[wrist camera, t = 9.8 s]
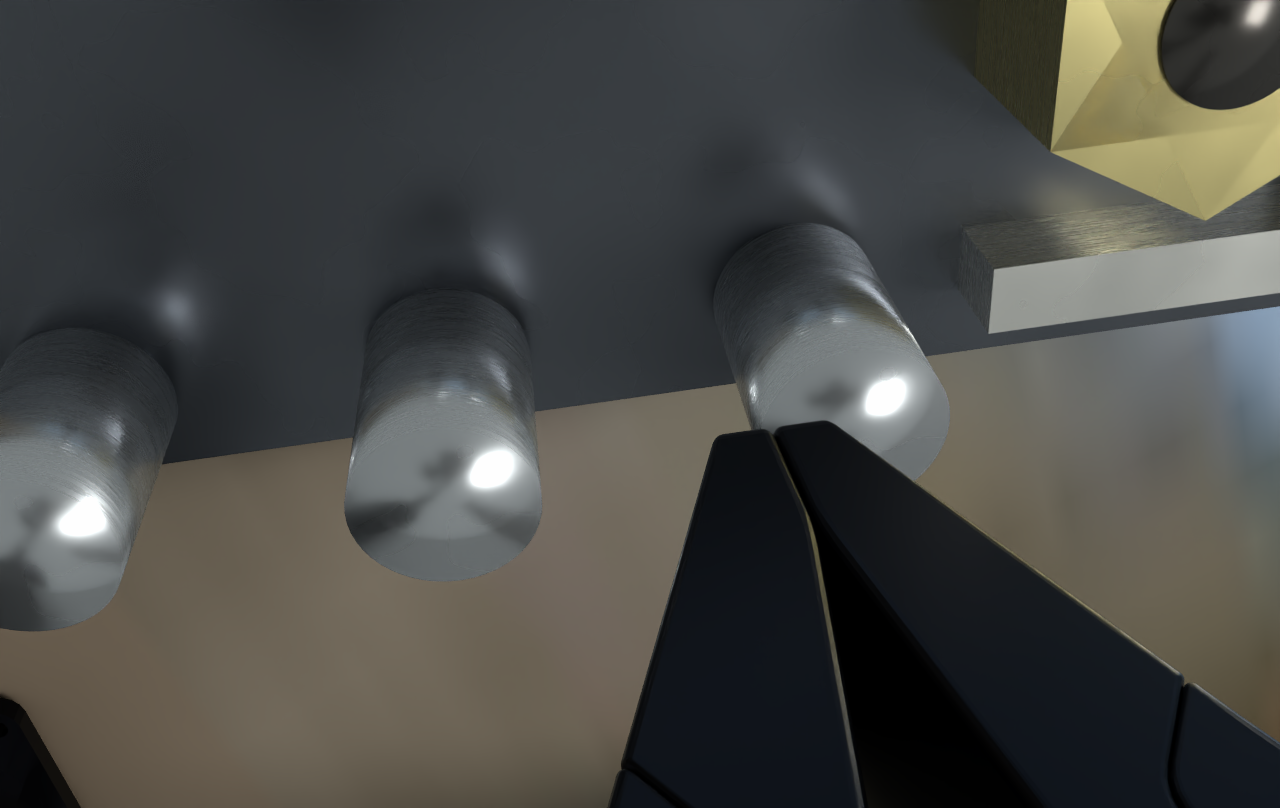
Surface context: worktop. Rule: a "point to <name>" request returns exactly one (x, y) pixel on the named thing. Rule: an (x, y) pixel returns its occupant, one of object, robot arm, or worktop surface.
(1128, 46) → the hex nut
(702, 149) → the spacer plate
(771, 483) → the robot arm
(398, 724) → the worktop surface
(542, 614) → the worktop surface
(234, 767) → the worktop surface
